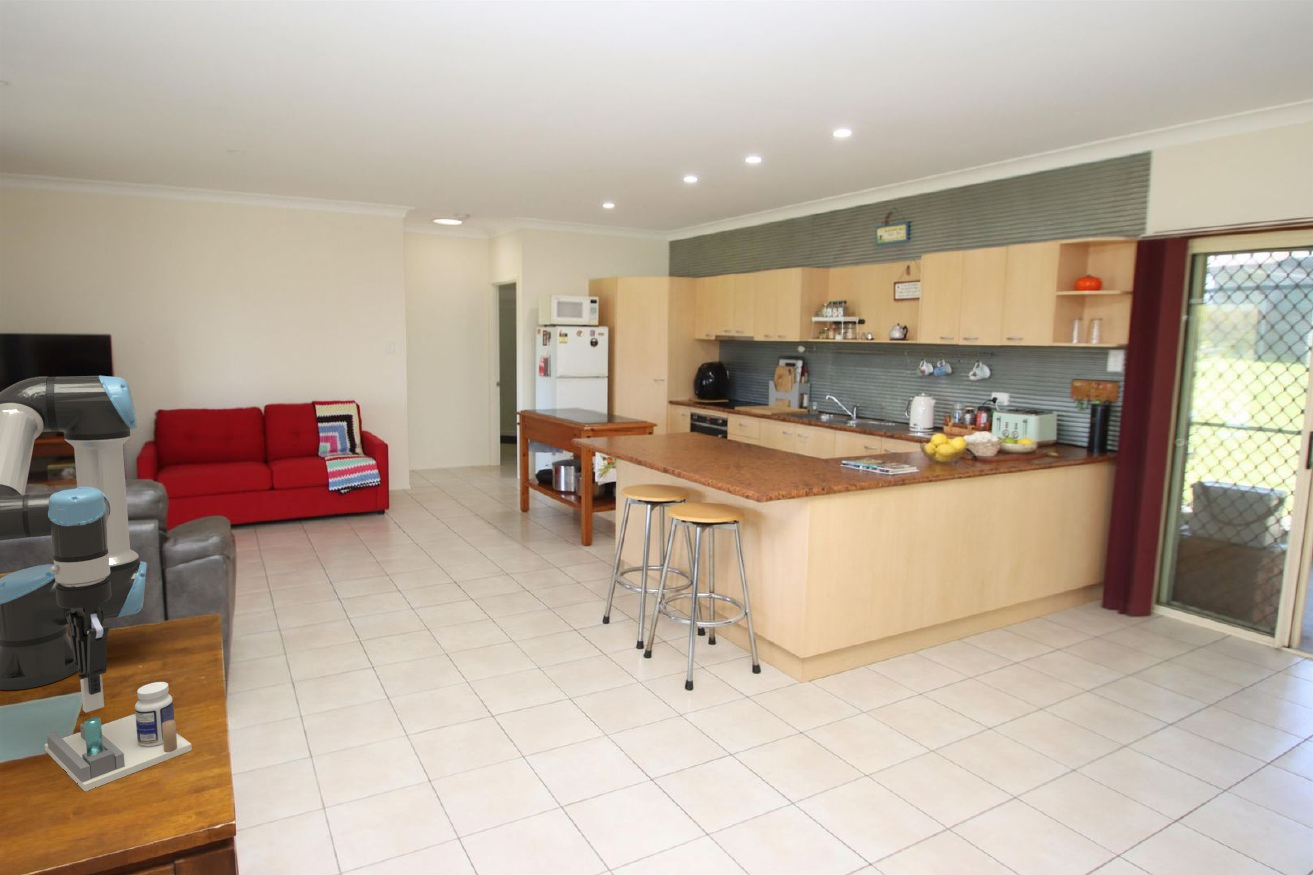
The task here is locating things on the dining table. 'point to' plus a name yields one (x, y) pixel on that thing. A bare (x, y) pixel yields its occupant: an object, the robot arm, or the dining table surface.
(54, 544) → the robot arm
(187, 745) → the board
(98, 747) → the pin
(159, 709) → the pill bottle
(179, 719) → the dining table surface
